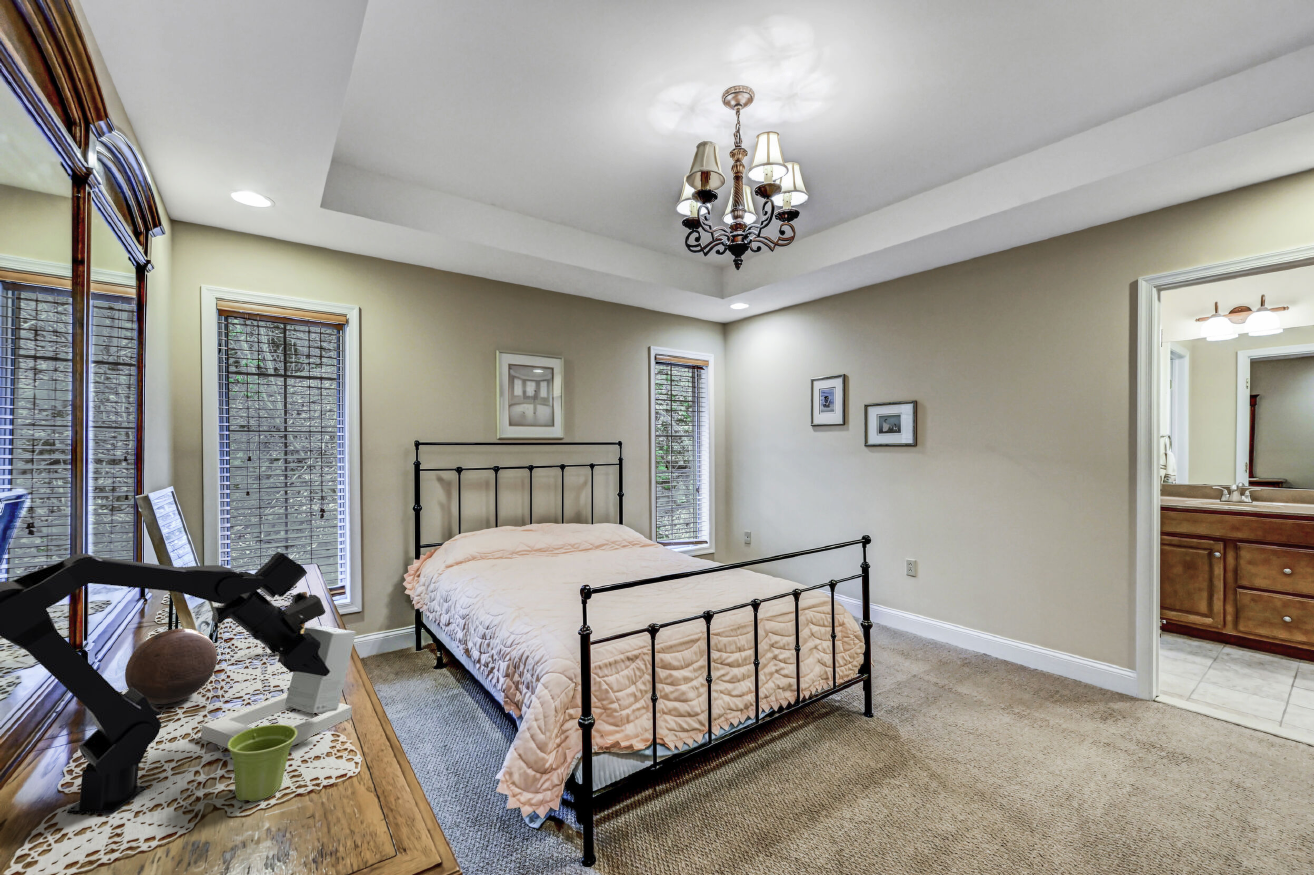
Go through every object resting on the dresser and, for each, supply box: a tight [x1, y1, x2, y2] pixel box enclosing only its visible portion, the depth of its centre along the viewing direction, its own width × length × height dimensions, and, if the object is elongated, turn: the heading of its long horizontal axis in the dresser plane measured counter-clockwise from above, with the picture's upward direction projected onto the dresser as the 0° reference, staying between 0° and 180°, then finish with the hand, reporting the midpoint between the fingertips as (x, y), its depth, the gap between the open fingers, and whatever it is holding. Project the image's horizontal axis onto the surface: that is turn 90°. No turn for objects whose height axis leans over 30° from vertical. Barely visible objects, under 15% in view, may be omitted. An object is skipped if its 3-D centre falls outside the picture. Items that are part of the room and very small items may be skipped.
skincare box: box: [285, 625, 357, 714], centre depth 113 cm, size 8×6×15 cm
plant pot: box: [227, 723, 297, 802], centre depth 93 cm, size 9×9×9 cm
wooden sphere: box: [124, 628, 218, 705], centre depth 122 cm, size 15×15×15 cm
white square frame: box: [200, 692, 353, 749], centre depth 113 cm, size 18×17×2 cm
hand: (320, 666), depth 112 cm, fingers closed on skincare box, 9 cm apart
